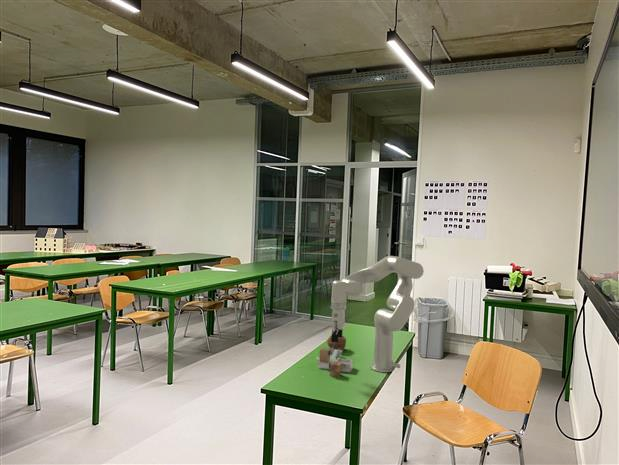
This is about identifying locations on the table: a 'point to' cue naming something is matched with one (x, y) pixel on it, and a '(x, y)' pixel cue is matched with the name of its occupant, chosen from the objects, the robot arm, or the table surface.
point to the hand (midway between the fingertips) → (336, 339)
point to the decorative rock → (337, 343)
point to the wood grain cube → (335, 369)
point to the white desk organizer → (325, 360)
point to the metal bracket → (333, 354)
